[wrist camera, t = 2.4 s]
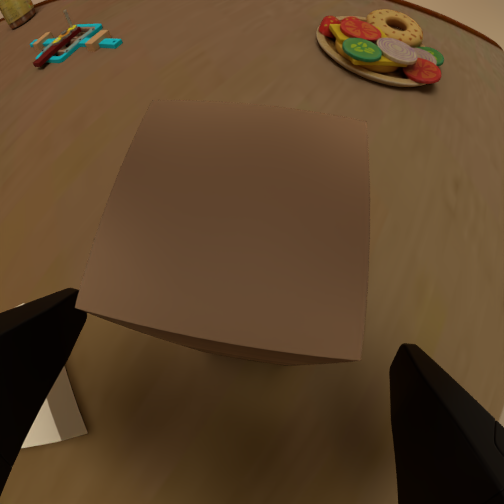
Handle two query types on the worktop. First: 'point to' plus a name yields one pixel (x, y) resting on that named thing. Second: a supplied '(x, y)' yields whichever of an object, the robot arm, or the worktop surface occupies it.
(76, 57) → the worktop surface
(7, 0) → the sauce bottle
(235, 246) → the walnut column
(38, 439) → the cream plinth
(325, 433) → the worktop surface
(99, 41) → the multicoloured piece
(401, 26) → the toy food set
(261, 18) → the worktop surface
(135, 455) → the worktop surface
